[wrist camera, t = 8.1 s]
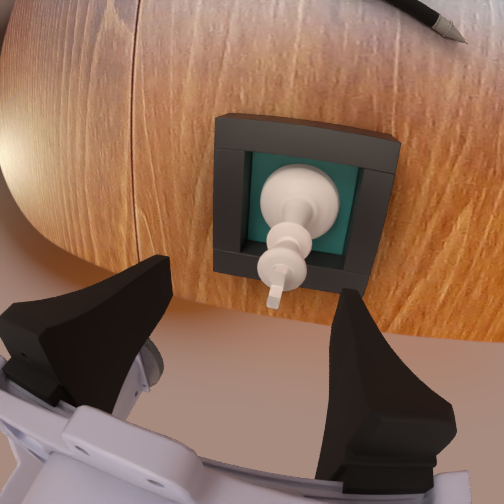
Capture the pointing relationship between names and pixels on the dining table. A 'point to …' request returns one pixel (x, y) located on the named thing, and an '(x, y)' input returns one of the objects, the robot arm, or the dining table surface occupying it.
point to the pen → (429, 18)
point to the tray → (312, 153)
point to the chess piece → (294, 224)
